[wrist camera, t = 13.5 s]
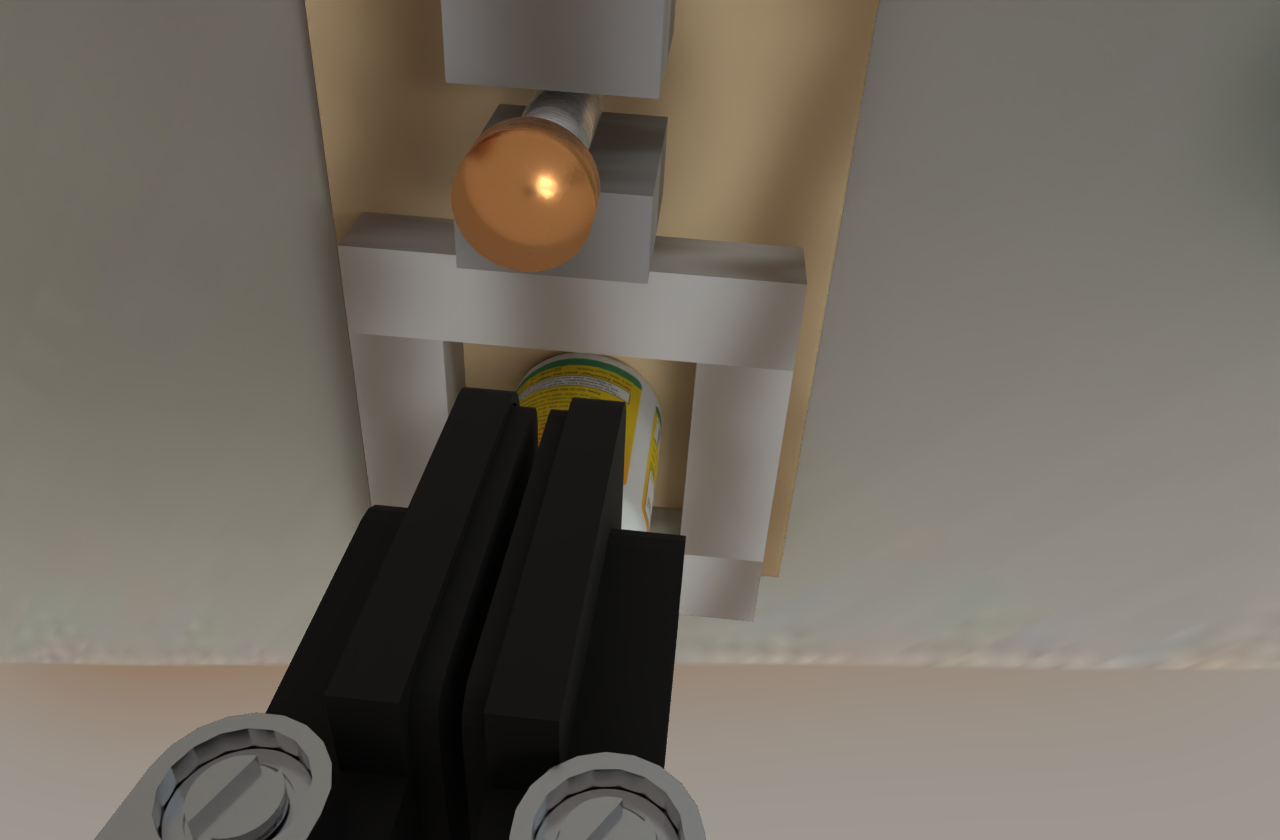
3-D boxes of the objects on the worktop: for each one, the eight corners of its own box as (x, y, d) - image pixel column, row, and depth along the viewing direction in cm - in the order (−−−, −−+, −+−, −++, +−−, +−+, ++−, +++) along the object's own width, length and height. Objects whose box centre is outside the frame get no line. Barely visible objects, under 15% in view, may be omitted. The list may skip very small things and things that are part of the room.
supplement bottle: (690, 437, 36) (675, 637, 29) (566, 491, 38) (519, 691, 31) (611, 320, 34) (570, 503, 26) (482, 384, 36) (408, 572, 28)
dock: (885, -71, 28) (922, -13, 22) (777, 559, 41) (783, 699, 35) (304, -110, 28) (191, -65, 23) (382, 522, 41) (324, 652, 36)
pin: (636, 25, 28) (595, 142, 20) (631, 133, 30) (592, 277, 22) (527, 16, 28) (447, 130, 20) (528, 124, 30) (454, 266, 22)
